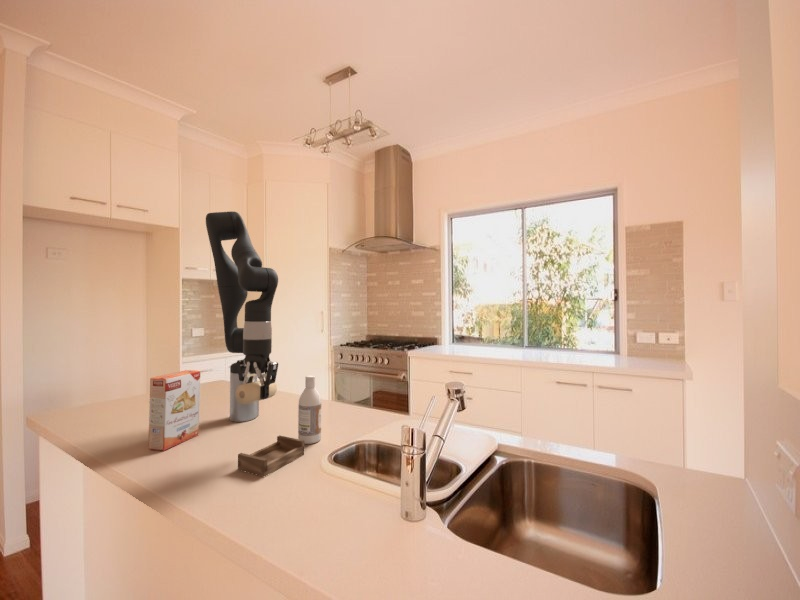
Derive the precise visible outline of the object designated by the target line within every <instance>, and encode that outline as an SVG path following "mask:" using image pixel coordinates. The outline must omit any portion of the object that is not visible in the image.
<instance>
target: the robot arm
mask: <svg viewBox="0 0 800 600" xmlns="http://www.w3.org/2000/svg"><path fill="white" fill-rule="evenodd" d="M205 225H206V227H205V228H206V231H207V236H208V241H209V244H210V249H211V252H212V257H213V261H214V269H215V276H216V285H217V289H218V294H219V299H220V305H221V313H222V320H223V329H224V330H223V331H224V332H223V334H224V341H225V346H226V350H227V351H228V352H229V353H230V354H231V353H232V354H243V355H244V358H243V359H238V360H236V362H233V363H232V364H231V365H230V371H229V372H230V373H229V420H230V421H231V422H237V423H238V422H248V421H251V420H252V421H253V420H255V419H256V418H257V417H258V416H260V415H259V414H260V401H256V402H252V403H249V404H240V403H239V402H238V401H237V399H236V396H235V392H236V389H237V387H238V386H239V385H243V384H247V383H252V382H257V381H260V383H261V386H260V399H262V400H261V401H263V400H264V401H265V400H267V399H269V398H268V396H269V385H270V384H272V383H276V379H277V373H278V368H279V362H277V361H275V362H273V361H271V359H270V354H271V353H272V347H273V345H272V341H273V337H272V336H273V333H272V332H273V330H272V329H273V327H272V306H273V301H274V297H275V294H276V291H277V288H278V284H279V277H278V274H277V272H276V270H275V269H274V268H272V267H263V262H262V259H261V257H260V255H259V254H258V252H257V251H256V249H255V247H254V245H253V243H252V240H251V238H250V235H249V232H248V229H247V226H246V224H245V222H244V219H243V217H242V216H241V215H240V213H239V212H237V211H218V212H217V211H216V212H209V213H207V214H206V216H205ZM232 240H235V241H234V243H233V245H232V247H231V251H230V252H231V253H230V254H231V258H232V259H231V258H230V256H229V255H228V254H227V253H226V251H225V249H224V247H223V245H222V241H232ZM248 292H252V293H253V292H255V293H261V294H260V295H259V296H260V297H258V298H257V299H251V300H248V301H246V300H247V297H248V294H249V293H248ZM244 304H245V305H244ZM243 306H244V324H243V327H238V317H239V313H240V311H241V309H242V308H243ZM258 379H259V380H258ZM264 380H265V381H264Z"/></svg>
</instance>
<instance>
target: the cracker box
mask: <svg viewBox="0 0 800 600" xmlns="http://www.w3.org/2000/svg"><path fill="white" fill-rule="evenodd" d="M149 380H150V381H149V413H148V414H149V415H148V416H149V417H148V449H149V450H154V451H163V452H165V451H166V450H168V449H171V448H173V447H174V446H177V445H179V444H181V442H182V443H184V442H185V441H188V440H190V439H192V438H195V437H197V436H199V435H198V434H199V433H200V403H201V402H200V400H201V398H200V397H201V396H200V395H201V370H191V369H190V370H189V369H188V370H187V369H185V370H180V371H177V372H172V373H167V374H164V375H158V376H155V377H151V378H150V379H149ZM196 435H197V436H196ZM194 436H195V437H194Z"/></svg>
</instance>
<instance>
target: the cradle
mask: <svg viewBox="0 0 800 600" xmlns="http://www.w3.org/2000/svg"><path fill="white" fill-rule="evenodd" d="M304 455H305V444H304V440H299V439H298V438H294V437H290V436H284V435H280V434H279V435H277V437H276V442H273V443H272V444H269V445H268V446H265V447H262V448H261V449H259V450H257V451H254V452H253V453H250V454H247V453H245V452H244V453H243V452H240V453H238V454H237V471H240V470H242V471H241V472H244V471H246V472H245V473H248V472H249V474H251V473H253V474H252V475H255V474H257V475H256V476H259V475H260V476H259V477H262V476H265V477H267V476H268V474H269V475H270V473H271V474H272V473H273V472H276V471H278V470H279V469H281V468H283V467H285V466H286V465H288V464H290V463H292V462H293V461H295V460H297V459H299V458H300V457H302V456H304ZM277 469H278V470H277ZM266 475H267V476H266Z"/></svg>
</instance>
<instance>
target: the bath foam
mask: <svg viewBox="0 0 800 600" xmlns="http://www.w3.org/2000/svg"><path fill="white" fill-rule="evenodd" d="M304 387H305V388H304V390H303V391H302V392H301V394H300V396H299V399H298V408H297V409H298V412H297V413H298V415H297V416H298V421H297V422H298V423H297V424H298V425H297V426H298V427H297V428H298V431H297V434H298V436H297V437H298V438H297V439H299V440H304V445H311V444H312V445H313V444H315V443H318V442H320V441H321V439H322V398H321V397H322V396H321V395H320V393H319V391H318V390H317V388H316V376H315V375H306V376H305V386H304Z"/></svg>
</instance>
